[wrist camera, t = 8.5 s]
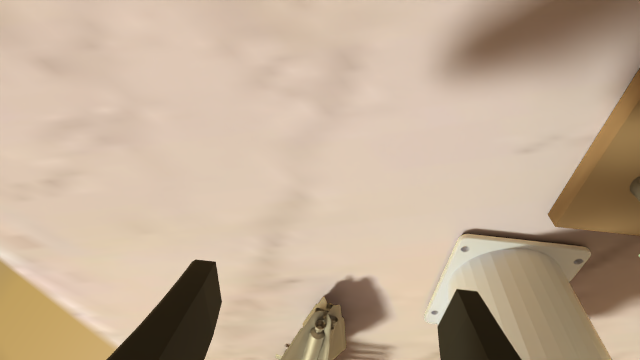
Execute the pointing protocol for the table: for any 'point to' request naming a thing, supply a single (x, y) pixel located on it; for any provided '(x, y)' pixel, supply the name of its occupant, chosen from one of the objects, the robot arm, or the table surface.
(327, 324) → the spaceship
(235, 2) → the table surface
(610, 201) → the peg base
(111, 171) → the table surface
